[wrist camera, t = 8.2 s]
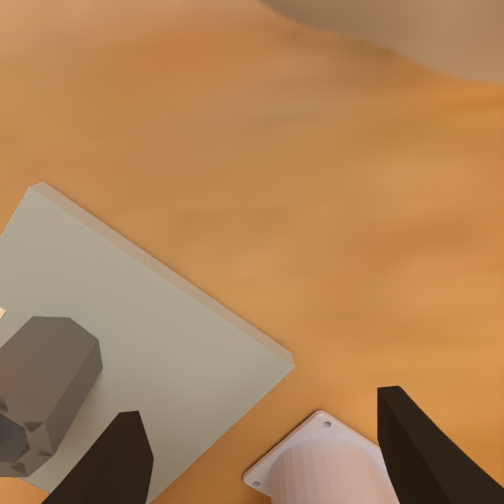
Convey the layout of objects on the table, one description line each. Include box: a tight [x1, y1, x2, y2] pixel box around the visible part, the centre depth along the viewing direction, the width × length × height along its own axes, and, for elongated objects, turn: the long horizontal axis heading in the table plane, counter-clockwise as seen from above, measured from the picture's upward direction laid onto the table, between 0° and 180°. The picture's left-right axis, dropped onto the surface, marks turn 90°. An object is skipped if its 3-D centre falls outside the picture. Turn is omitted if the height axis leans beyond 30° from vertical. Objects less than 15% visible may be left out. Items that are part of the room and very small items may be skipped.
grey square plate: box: [0, 182, 295, 504], centre depth 21 cm, size 16×18×4 cm
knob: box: [0, 316, 103, 478], centre depth 17 cm, size 5×5×6 cm
